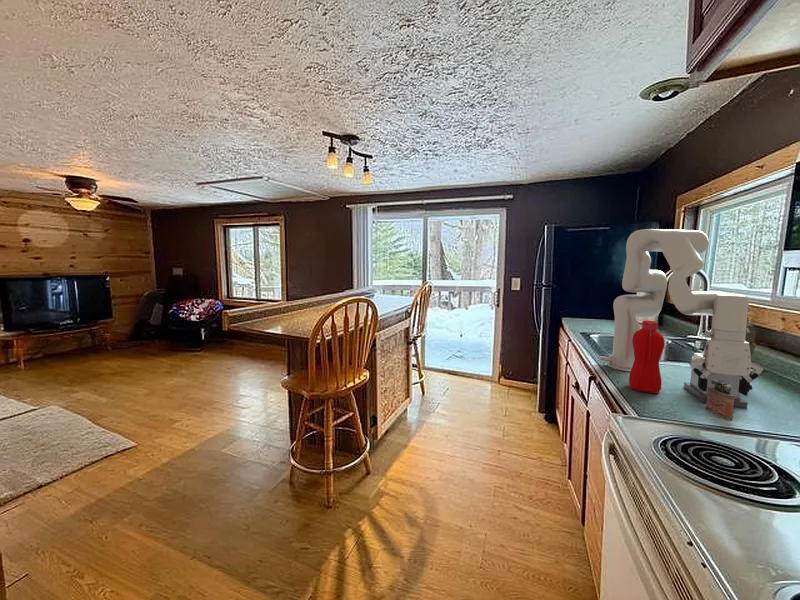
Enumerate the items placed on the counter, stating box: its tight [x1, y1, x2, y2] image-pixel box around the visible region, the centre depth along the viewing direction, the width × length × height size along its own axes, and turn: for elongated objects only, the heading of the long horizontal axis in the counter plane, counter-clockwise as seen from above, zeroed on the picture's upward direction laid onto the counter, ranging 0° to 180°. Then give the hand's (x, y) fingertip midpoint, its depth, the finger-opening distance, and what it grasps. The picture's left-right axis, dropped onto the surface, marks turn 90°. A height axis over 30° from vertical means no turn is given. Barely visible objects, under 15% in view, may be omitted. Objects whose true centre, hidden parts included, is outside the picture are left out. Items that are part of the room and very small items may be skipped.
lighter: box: [704, 380, 735, 421], centre depth 108 cm, size 8×3×10 cm, turn 179°
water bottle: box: [628, 320, 665, 394], centre depth 127 cm, size 9×11×25 cm
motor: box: [683, 352, 749, 409], centre depth 121 cm, size 11×16×14 cm
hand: (722, 392), depth 107 cm, fingers open, 9 cm apart
